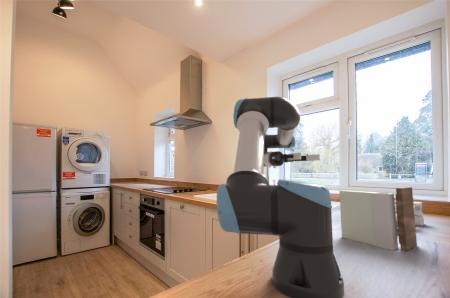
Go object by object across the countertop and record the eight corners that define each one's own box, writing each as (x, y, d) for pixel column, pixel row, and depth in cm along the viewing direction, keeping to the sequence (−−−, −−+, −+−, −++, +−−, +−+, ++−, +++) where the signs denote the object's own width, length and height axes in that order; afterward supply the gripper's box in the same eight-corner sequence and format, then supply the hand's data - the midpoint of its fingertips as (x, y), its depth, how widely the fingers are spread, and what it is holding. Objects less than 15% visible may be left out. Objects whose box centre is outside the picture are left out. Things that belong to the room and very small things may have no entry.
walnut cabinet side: (382, 246, 75) (378, 187, 77) (394, 240, 81) (390, 186, 83) (405, 252, 70) (400, 188, 72) (417, 245, 76) (412, 187, 78)
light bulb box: (424, 224, 108) (422, 201, 109) (423, 226, 103) (421, 203, 104) (396, 220, 115) (395, 199, 116) (395, 222, 110) (393, 201, 111)
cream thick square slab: (340, 237, 85) (338, 190, 87) (347, 235, 88) (344, 190, 90) (392, 250, 72) (388, 194, 73) (398, 247, 74) (393, 193, 76)
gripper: (289, 166, 120) (326, 165, 103) (256, 165, 106) (292, 164, 89) (289, 152, 121) (325, 149, 103) (255, 150, 107) (291, 146, 89)
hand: (310, 156), depth 96 cm, fingers open, 13 cm apart
